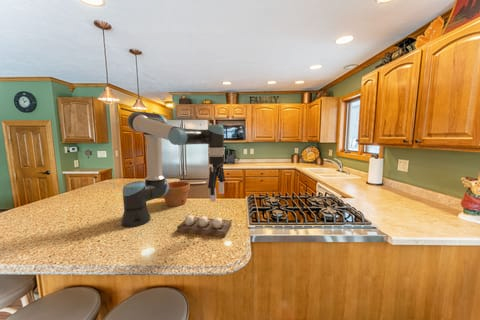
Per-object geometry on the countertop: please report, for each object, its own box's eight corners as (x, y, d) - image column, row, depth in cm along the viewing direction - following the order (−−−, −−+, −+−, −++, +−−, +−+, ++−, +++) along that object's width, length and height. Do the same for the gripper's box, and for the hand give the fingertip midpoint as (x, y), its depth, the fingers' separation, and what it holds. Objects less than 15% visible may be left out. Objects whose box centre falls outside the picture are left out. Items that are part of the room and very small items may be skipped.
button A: (183, 225, 100) (183, 218, 100) (187, 221, 105) (187, 214, 104) (191, 225, 99) (191, 218, 99) (195, 222, 104) (194, 215, 103)
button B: (197, 226, 99) (197, 219, 98) (201, 222, 103) (201, 215, 103) (205, 227, 98) (205, 219, 97) (208, 223, 102) (208, 216, 102)
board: (177, 232, 100) (177, 226, 99) (189, 221, 112) (188, 216, 112) (224, 237, 94) (224, 231, 94) (231, 225, 107) (231, 220, 106)
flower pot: (173, 210, 130) (172, 189, 129) (155, 204, 142) (154, 185, 140) (196, 201, 148) (195, 183, 146) (178, 197, 159) (177, 180, 158)
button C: (212, 228, 97) (212, 220, 97) (215, 224, 101) (215, 217, 101) (220, 228, 96) (220, 221, 96) (223, 224, 100) (222, 217, 100)
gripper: (215, 158, 82) (216, 205, 85) (230, 154, 106) (230, 191, 109) (199, 158, 84) (201, 204, 86) (217, 154, 108) (218, 190, 110)
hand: (217, 197), depth 98 cm, fingers open, 12 cm apart
